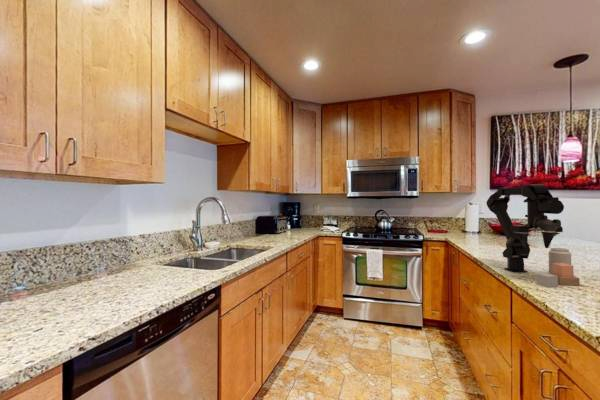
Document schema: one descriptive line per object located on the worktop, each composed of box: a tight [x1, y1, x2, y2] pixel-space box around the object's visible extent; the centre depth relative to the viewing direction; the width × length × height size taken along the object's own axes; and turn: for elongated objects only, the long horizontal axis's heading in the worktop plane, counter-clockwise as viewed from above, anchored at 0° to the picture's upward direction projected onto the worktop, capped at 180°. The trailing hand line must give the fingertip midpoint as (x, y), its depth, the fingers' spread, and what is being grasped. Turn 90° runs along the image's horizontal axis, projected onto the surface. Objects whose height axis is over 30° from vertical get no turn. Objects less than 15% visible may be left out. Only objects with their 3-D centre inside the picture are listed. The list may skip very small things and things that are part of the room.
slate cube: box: [536, 272, 559, 289], centre depth 111 cm, size 4×4×4 cm
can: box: [548, 247, 572, 273], centre depth 126 cm, size 8×8×12 cm
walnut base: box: [547, 272, 580, 287], centre depth 114 cm, size 7×7×4 cm
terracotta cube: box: [552, 263, 575, 277], centre depth 114 cm, size 4×4×4 cm
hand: (536, 248), depth 122 cm, fingers open, 9 cm apart
